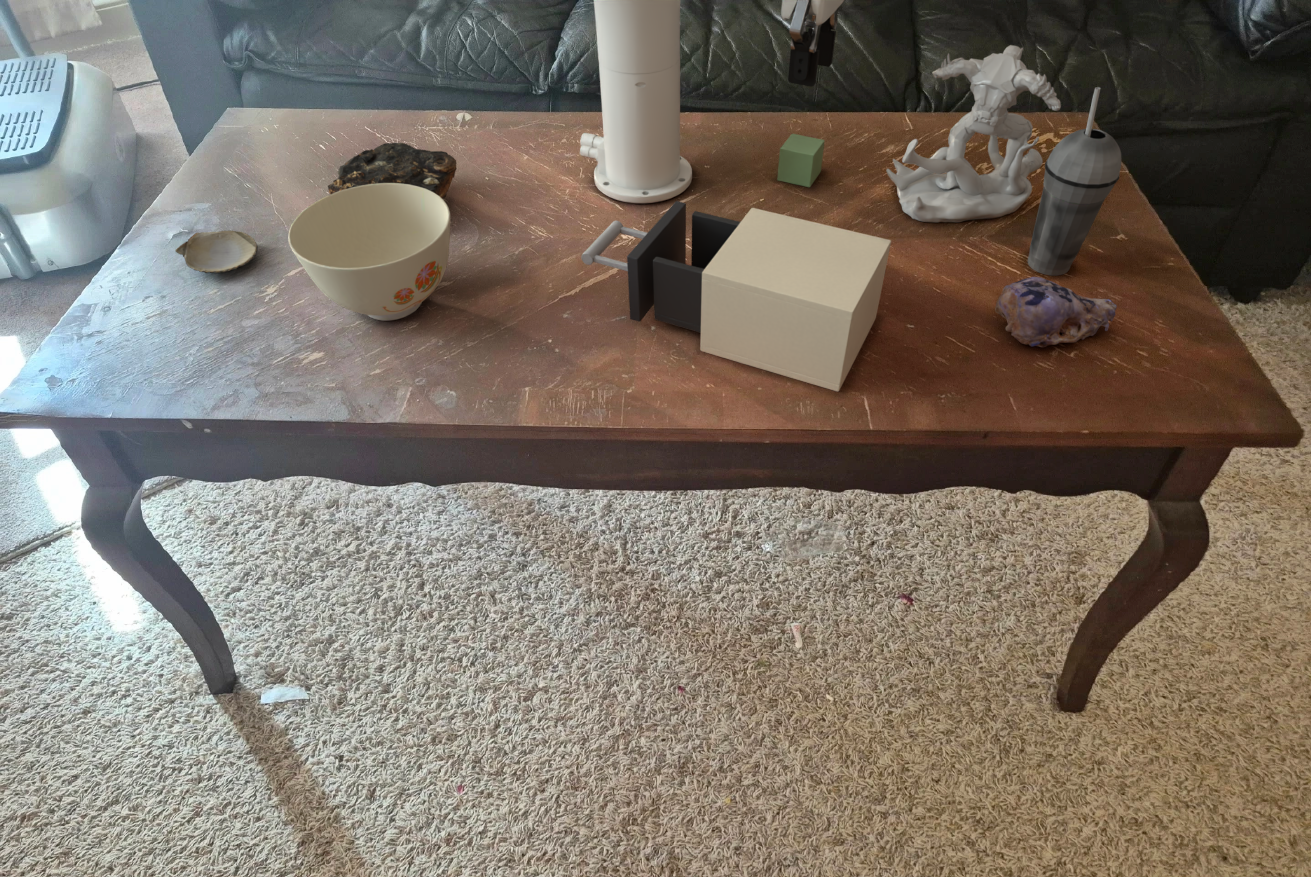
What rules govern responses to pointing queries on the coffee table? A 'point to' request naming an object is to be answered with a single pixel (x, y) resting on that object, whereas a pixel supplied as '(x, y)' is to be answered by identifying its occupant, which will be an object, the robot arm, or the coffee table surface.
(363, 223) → the bowl
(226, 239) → the seashell
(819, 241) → the cream drawer box
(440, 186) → the fossil rock
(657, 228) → the dark grey drawer
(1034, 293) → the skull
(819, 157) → the block
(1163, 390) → the coffee table surface
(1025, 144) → the figurine
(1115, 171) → the beverage cup
